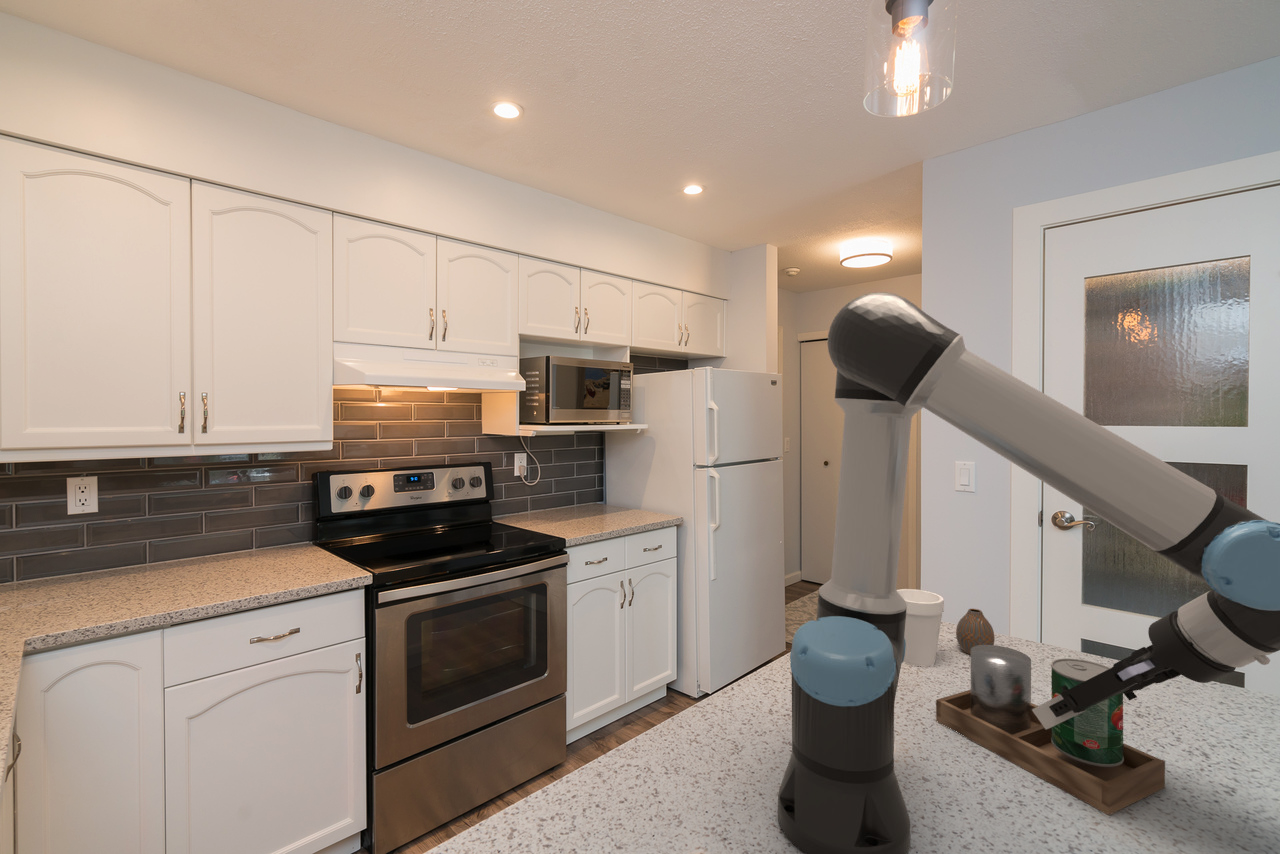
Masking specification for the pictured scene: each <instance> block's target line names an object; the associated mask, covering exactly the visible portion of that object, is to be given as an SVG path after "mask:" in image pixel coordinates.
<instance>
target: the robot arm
mask: <svg viewBox="0 0 1280 854" xmlns="http://www.w3.org/2000/svg"><path fill="white" fill-rule="evenodd" d="M828 330H829V331H828V334H827V348H828V349H827V350H828V354H829V355H828V356H829V358H830V361H831V363H832V364H833V366H834V367H835V368H836V376H835V377H836V378H835V390H834V392H835V393H834V401H835V403H836V404H837V405H838V406H839V407H840V408H841V410H843V411H842V412H843V413H844V419H843V431H842V432H843V433H842V441H841V443H842V444H841V456H840V465H839V466H840V468H839V478H838V480H839V481H838V491H837V502H836V503H837V504H836V516H835V526H834V527H835V528H834V537H833V540H834V541H833V550H832V561H831V562H832V564H831V573H830V574H831V575H830V579H829V580H828V581H826V582H825V583H823V584H822V585H821V586H819V588H818V595H817V597H818V598H817V608H816V609H817V610H816V619H815V620H814V619H810V620H808V621H806V622H805V623H803V624H802V625H801V626H800V627H798V628H797V630H796V631H795V633H794V636H793V638H792V642H791V643H792V645H791V650H790V654H789V660H790V665H789V666H790V670H791V741H792V742H791V744H792V745H791V754H790V758H789V761H788V764H787V767H786V769H785V772H784V775H783V776H782V777H783V778H782V781H781V784H780V786H779V790H778V793H777V794H778V795H777V818H778V819H777V820H778V823H779V825H780V828H781V830H782V831H783V833H784V836H786V837H787V839H788V840H789V841H790V842H791V843H792V844H793V845H794V846H795V847H796V848H797V849H799V850H800V851H801V852H803V853H804V854H908V853H909V851H910V848H911V820H910V814H909V811H908V808H907V805H906V803H905V800H904V796H903V794H902V793H903V792H902V790H901V787H900V785H899V782H898V779H897V775H896V773H895V702H896V701H895V700H896V696H897V695H896V694H897V691H898V689H897V688H898V684H899V679H900V673H901V669H902V664H903V663H904V662H903V660H904V656H905V649H906V641H905V638H904V635H905V634H904V633H905V622H906V609H907V604H906V601H905V600H904V599H903V598H902V597H901V596H900V594H899V593H898V592H897V590H898V589H897V584H898V573H899V564H900V563H899V560H900V551H901V550H900V548H901V540H902V539H901V538H902V530H903V529H902V528H903V527H902V526H903V516H904V508H905V507H904V506H905V495H906V487H907V486H906V484H907V483H906V482H907V474H908V473H907V472H908V461H909V450H910V442H911V441H910V440H911V428H912V418H913V417H914V416H915V415H916V414H917V413H918V412H920V411H921V410H922V409H923V408H924V409H925V410H926V411H927V410H928V412H931V414H933V415H935V416H936V417H939V419H942V420H943V421H945V422H946V423H948V424H950V425H951V426H953V427H955V429H958V430H959V431H961V432H962V433H964V434H966V435H967V436H969V437H970V438H972V439H974V440H976V441H977V442H979V443H980V444H981V445H983V446H985V447H986V448H988V449H989V450H992V451H993V452H995V453H996V454H997V455H1000V456H1001V457H1003V458H1004V459H1006V460H1007V461H1009V462H1011V463H1012V464H1014V465H1015V466H1016V467H1019V468H1021V469H1022V470H1024V471H1026V472H1027V473H1029V475H1030V474H1031V476H1033V477H1035V478H1037V480H1038V479H1039V480H1040V481H1042V482H1043V483H1044V484H1046V485H1048V486H1049V487H1052V488H1053V489H1055V490H1056V491H1058V492H1060V493H1061V494H1062V495H1064V496H1066V497H1067V498H1069V499H1070V500H1072V501H1073V502H1075V503H1077V504H1079V505H1080V506H1081V507H1083V508H1085V509H1086V510H1088V511H1090V512H1091V513H1093V514H1095V515H1096V516H1097V517H1100V518H1101V519H1102V520H1105V521H1106V522H1107V523H1109V524H1110V525H1113V526H1114V527H1115V528H1117V529H1119V530H1121V531H1122V532H1124V533H1125V534H1127V535H1129V537H1132V538H1133V539H1135V540H1137V541H1138V542H1140V543H1142V544H1143V545H1144V546H1146V547H1148V548H1150V549H1151V550H1152V551H1154V552H1156V553H1157V554H1159V555H1160V556H1162V557H1163V558H1165V559H1166V560H1168V561H1169V562H1170V563H1172V564H1174V565H1176V566H1177V567H1179V568H1181V570H1184V571H1185V572H1187V573H1189V574H1190V575H1192V576H1193V577H1195V578H1197V579H1198V580H1200V581H1201V582H1203V583H1204V584H1206V585H1208V586H1209V588H1210V589H1211V590H1209V591H1207V592H1205V593H1203V594H1201V595H1199V596H1198V597H1195V598H1194V599H1192V600H1190V601H1188V602H1187V603H1184V604H1183V605H1181V606H1180V607H1179V608H1178V609H1177V610H1176V611H1172V612H1170V613H1169V614H1167V615H1165V616H1163V617H1161V618H1159V619H1157V620H1156V621H1154V622H1152V623H1151V624H1150V625H1149V627H1148V631H1147V632H1148V638H1149V640H1150V642H1151V643H1150V644H1151V645H1149V646H1147V647H1146V646H1143V647H1140V648H1139V649H1137V650H1134V651H1132V652H1131V654H1130V656H1128V657H1125V658H1123V659H1122V660H1119V661H1117V662H1115V663H1113V665H1112V667H1109V668H1110V669H1108V670H1106V671H1104V672H1102V673H1100V674H1098V675H1096V676H1094V677H1092V678H1090V679H1088V680H1086V681H1084V682H1082V683H1080V684H1079V685H1077V686H1075V687H1073V688H1071V689H1068V687H1067V686H1066V685H1064V686H1062V687H1061V689H1062V690H1063V691H1062V693H1061V694H1060V695H1059V696H1057V697H1055V698H1053V699H1052V698H1051V699H1050V700H1047V701H1045V702H1044V703H1041V704H1040V705H1037V706H1038V707H1036V708H1034V709H1032V711H1033V712H1034V714H1035V715H1036V716H1037V718H1038V719H1039V721H1040V722H1041V724H1042V725H1043V726H1044V728H1045V729H1049V728H1051V727H1053V726H1055V725H1057V724H1060V723H1062V722H1064V721H1066V720H1068V719H1070V718H1072V717H1074V716H1076V715H1078V714H1080V713H1082V712H1084V711H1086V709H1087V708H1089V707H1091V706H1093V705H1095V704H1097V703H1100V702H1102V701H1104V700H1106V699H1108V698H1111V697H1113V696H1115V695H1117V694H1119V693H1122V692H1123V696H1125V697H1126V698H1127V700H1128V701H1132V700H1134V699H1136V698H1138V696H1137V695H1136V693H1135V691H1136V692H1137V691H1141V690H1143V689H1145V688H1147V687H1149V686H1152V685H1153V684H1156V685H1157V684H1162V683H1164V682H1167V681H1169V680H1173V679H1175V678H1177V677H1179V676H1183V677H1185V678H1186V679H1188V680H1190V681H1192V682H1196V683H1201V684H1208V683H1211V682H1213V681H1216V680H1218V679H1220V678H1222V677H1224V676H1227V675H1229V674H1230V673H1233V672H1235V670H1236V668H1239V669H1240V668H1243V667H1245V666H1247V665H1250V664H1252V663H1254V662H1255V661H1257V662H1258V663H1259V664H1261V665H1264V666H1266V665H1269V664H1270V662H1271V659H1270V658H1269V657H1268V656H1269V655H1272V654H1273V653H1274V654H1275V653H1276V652H1279V651H1280V523H1278V522H1275V521H1269V520H1268V519H1266V518H1264V517H1262V516H1260V515H1258V514H1257V513H1254V512H1253V511H1251V510H1250V509H1248V508H1246V507H1244V506H1242V505H1240V504H1239V503H1237V502H1236V501H1234V500H1231V499H1230V498H1228V497H1227V496H1224V495H1222V494H1220V493H1218V492H1217V491H1215V490H1214V489H1213V488H1212V487H1210V486H1207V485H1206V484H1204V483H1202V482H1200V481H1199V480H1197V479H1196V478H1194V477H1192V476H1190V475H1188V474H1186V473H1184V472H1182V471H1181V470H1180V469H1177V468H1176V467H1174V466H1173V465H1170V464H1168V463H1167V462H1165V461H1163V460H1161V459H1160V458H1158V457H1156V456H1155V455H1153V454H1151V453H1150V452H1147V451H1146V450H1144V449H1142V448H1141V447H1139V446H1138V445H1136V444H1133V443H1132V442H1130V441H1128V440H1126V439H1125V438H1123V437H1122V436H1119V435H1118V434H1116V433H1114V432H1112V431H1110V430H1109V429H1108V428H1105V427H1103V426H1102V425H1100V424H1098V423H1097V422H1095V421H1093V420H1091V419H1089V418H1088V417H1086V416H1084V415H1082V414H1081V413H1078V412H1077V411H1075V410H1074V409H1072V408H1070V407H1069V406H1067V405H1064V404H1063V403H1061V402H1060V401H1058V400H1055V399H1054V398H1053V397H1051V396H1049V395H1047V394H1045V393H1043V392H1042V391H1040V390H1039V389H1037V388H1034V387H1033V386H1031V385H1029V384H1028V383H1026V382H1024V381H1022V380H1021V379H1019V378H1017V377H1015V376H1014V375H1012V374H1010V373H1008V372H1007V371H1005V370H1003V369H1001V368H1000V367H997V366H996V365H995V364H992V363H991V362H989V361H987V360H985V359H984V358H983V357H980V356H978V355H976V354H975V353H973V352H971V351H969V350H967V348H966V346H965V342H964V336H963V335H962V334H960V333H958V332H956V331H954V330H953V329H951V328H949V327H947V326H946V325H945V324H942V323H941V322H939V321H938V320H936V319H934V317H932V316H931V315H929V314H927V313H926V312H925V311H923V310H922V309H921V308H919V307H918V305H916V304H914V303H913V302H912V301H910V300H909V299H907V298H906V297H903V296H901V295H898V294H896V293H892V292H890V293H889V292H883V291H882V292H877V291H876V292H871V293H870V292H869V293H867V294H866V293H865V294H864V295H863V294H862V295H860V296H857V297H855V298H854V299H852V300H851V301H849V302H848V303H846V304H845V305H844V306H843V307H842V308H841V309H840V310H839V311H838V312H837V314H836V315H835V316H834V319H833V320H832V323H831V325H830V327H829V329H828Z"/></svg>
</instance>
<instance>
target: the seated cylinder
mask: <svg viewBox="0 0 1280 854" xmlns="http://www.w3.org/2000/svg"><path fill="white" fill-rule="evenodd" d="M970 690H971V715H973V716H975V717H977V718H979V719H981V720H983V721H985V722H987V723H989V724H991V725H993V726H995V727H997V728H999V729H1001V730H1003V731H1005V732H1007V733H1009V734H1011V735H1013V734H1016V733H1019V732H1021V731H1024V730H1027V729H1030V728H1031V703H1032V659H1031V657H1030V656H1028V655H1027V654H1026V653H1024V652H1021V651H1020V650H1017V649H1014V648H1009V647H1006V646H1003V645H1002V646H1001V645H997V644H996V645H995V644H994V645H977V646H974V647H972V648H971V655H970Z"/></svg>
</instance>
